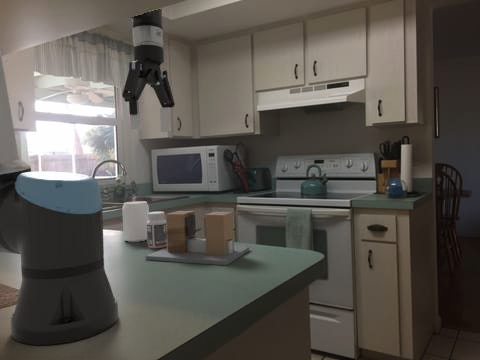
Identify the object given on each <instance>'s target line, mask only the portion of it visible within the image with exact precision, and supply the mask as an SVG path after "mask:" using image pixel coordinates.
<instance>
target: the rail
mask: <svg viewBox="0 0 480 360" xmlns="http://www.w3.org/2000/svg"><path fill="white" fill-rule="evenodd" d="M233 213H234V212H233V211H213V212H209V213H206V214H204V217H203V218H204V221H203V222H204V225H203V226H204V238H195V239H187V248H188V252H187V253H172V252H168V239H167V246H166V247H163V248H162V249H160V250H157V251H154V252H152V253H150V254H147V255H145V261H156V262H157V261H159V262H172V263H185V264H187V263H189V264H201V265H202V264H203V265H215V266H216V265H219V266H227V265H229V264H230V263H232V262H234V261H235V260H237V259H239V258H240V257H242V256H243V255H245V254H246V253H247V252H249V251H250V246H243V245H241V246H240V245H234V243H235V242H234V216H233Z"/></svg>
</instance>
